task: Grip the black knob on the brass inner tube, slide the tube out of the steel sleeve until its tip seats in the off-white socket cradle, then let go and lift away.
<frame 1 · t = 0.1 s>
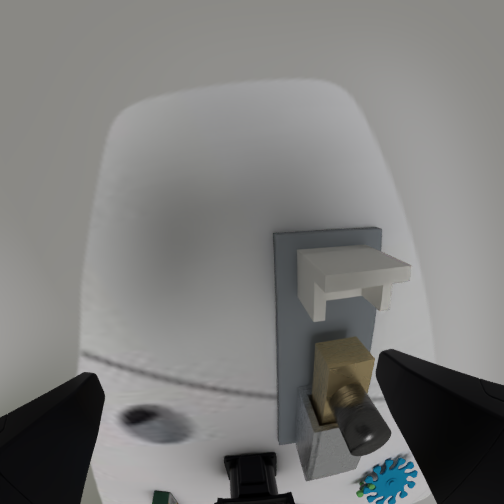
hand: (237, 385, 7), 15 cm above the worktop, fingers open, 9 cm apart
gear: (380, 468, 32), on the worktop
crayon box: (167, 498, 30), on the worktop
socket: (328, 267, 22), resting on board
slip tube: (343, 431, 18), point 7 cm above the worktop, slide at 0.0 cm
sleeve: (318, 406, 26), resting on board
board: (323, 356, 24), on the worktop
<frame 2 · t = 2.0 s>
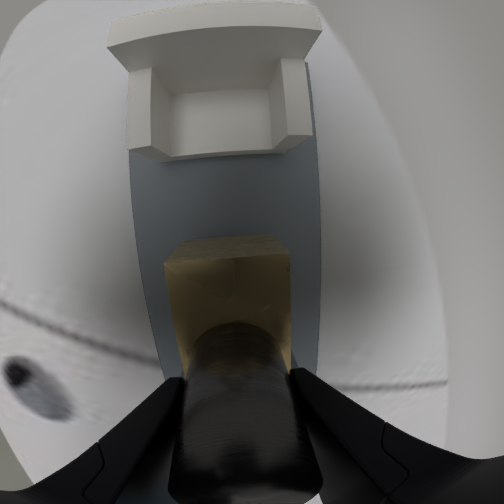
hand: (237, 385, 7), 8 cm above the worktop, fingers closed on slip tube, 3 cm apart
socket: (220, 122, 13), resting on board
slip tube: (245, 440, 9), point 7 cm above the worktop, slide at 0.0 cm, touching gripper
board: (232, 293, 15), on the worktop
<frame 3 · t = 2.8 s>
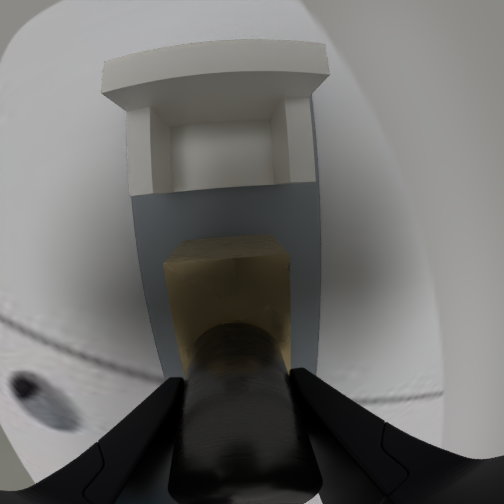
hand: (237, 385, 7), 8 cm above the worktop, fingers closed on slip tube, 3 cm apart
socket: (222, 150, 13), resting on board
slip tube: (245, 440, 9), point 7 cm above the worktop, slide at 1.5 cm, touching gripper
board: (235, 318, 15), on the worktop
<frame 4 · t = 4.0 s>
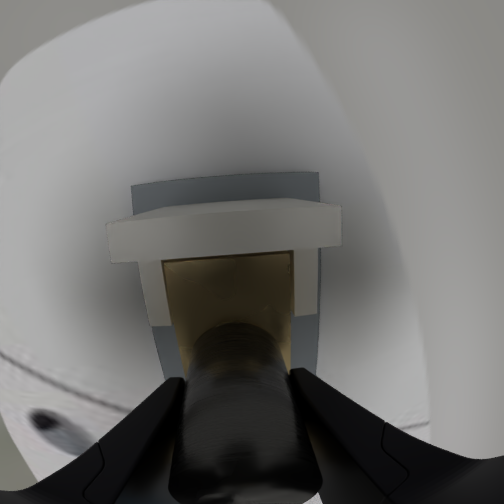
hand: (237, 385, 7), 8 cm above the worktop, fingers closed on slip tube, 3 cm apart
socket: (228, 238, 14), resting on board
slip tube: (245, 440, 9), point 7 cm above the worktop, slide at 5.9 cm, touching gripper
board: (241, 379, 16), on the worktop
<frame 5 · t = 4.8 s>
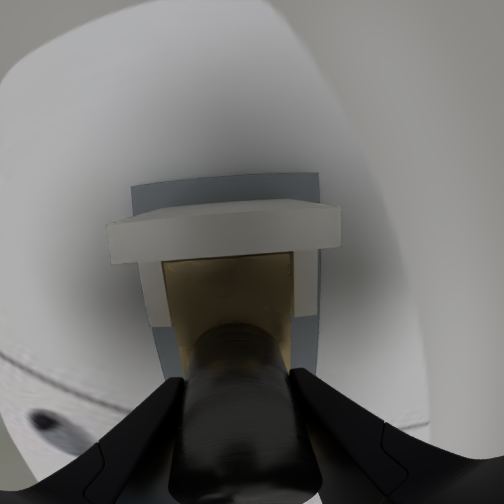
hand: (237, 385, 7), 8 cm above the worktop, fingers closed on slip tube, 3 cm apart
socket: (228, 238, 14), resting on board
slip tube: (245, 440, 9), point 7 cm above the worktop, slide at 5.9 cm, touching gripper
board: (241, 379, 16), on the worktop
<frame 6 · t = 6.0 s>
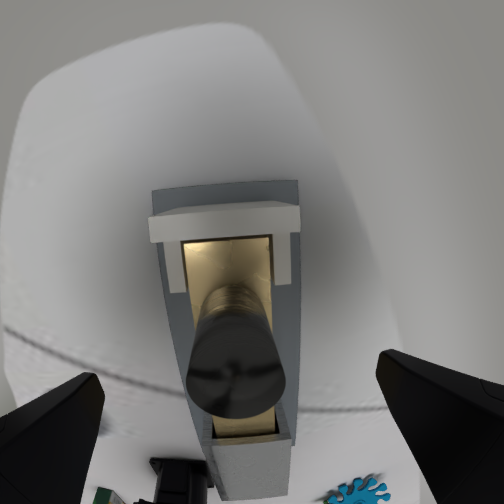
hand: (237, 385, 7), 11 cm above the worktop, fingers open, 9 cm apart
gear: (347, 488, 28), on the worktop
crayon box: (113, 496, 25), on the worktop
socket: (227, 232, 18), resting on board
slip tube: (239, 384, 12), point 7 cm above the worktop, slide at 5.9 cm
sleeve: (244, 413, 21), resting on board
board: (237, 350, 20), on the worktop
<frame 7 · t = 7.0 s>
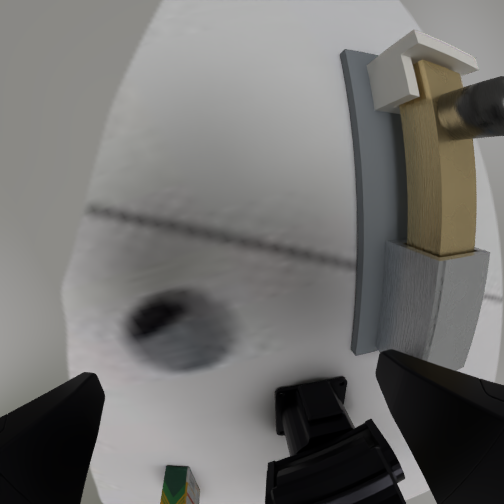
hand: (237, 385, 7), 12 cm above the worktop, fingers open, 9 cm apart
crayon box: (183, 477, 25), on the worktop
socket: (395, 96, 17), resting on board
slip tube: (467, 172, 12), point 7 cm above the worktop, slide at 5.9 cm
sleeve: (401, 288, 21), resting on board
board: (405, 204, 19), on the worktop
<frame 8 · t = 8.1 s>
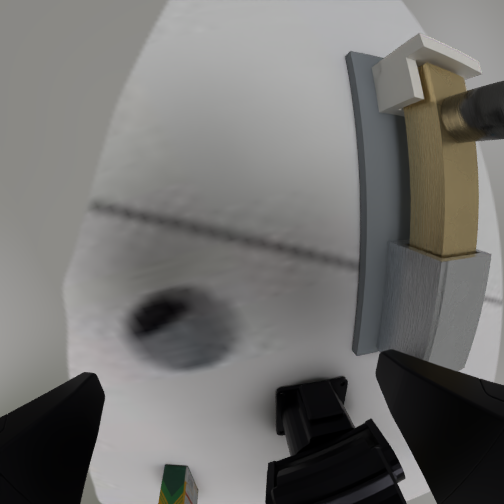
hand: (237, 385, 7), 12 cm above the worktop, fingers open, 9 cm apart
crayon box: (182, 476, 25), on the worktop
socket: (399, 98, 17), resting on board
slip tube: (470, 174, 12), point 7 cm above the worktop, slide at 5.9 cm
sleeve: (403, 289, 21), resting on board
board: (408, 205, 19), on the worktop
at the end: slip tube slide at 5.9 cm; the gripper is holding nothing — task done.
